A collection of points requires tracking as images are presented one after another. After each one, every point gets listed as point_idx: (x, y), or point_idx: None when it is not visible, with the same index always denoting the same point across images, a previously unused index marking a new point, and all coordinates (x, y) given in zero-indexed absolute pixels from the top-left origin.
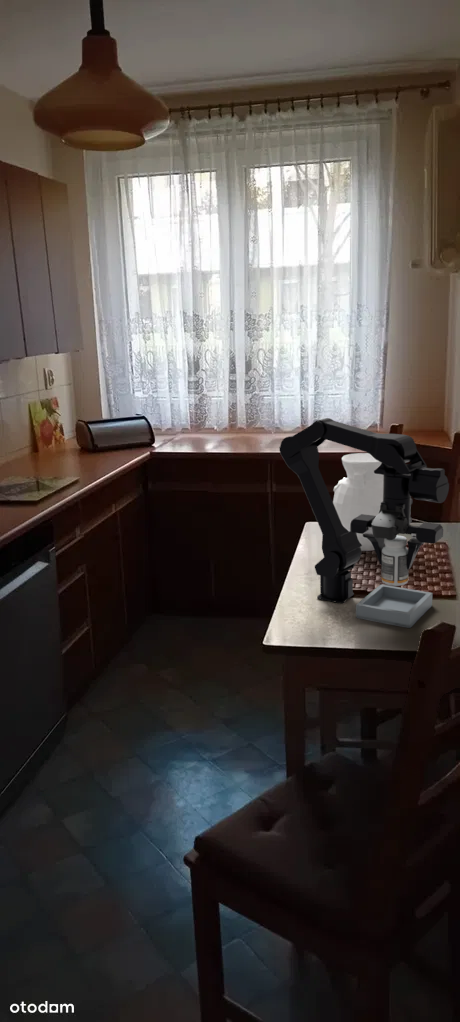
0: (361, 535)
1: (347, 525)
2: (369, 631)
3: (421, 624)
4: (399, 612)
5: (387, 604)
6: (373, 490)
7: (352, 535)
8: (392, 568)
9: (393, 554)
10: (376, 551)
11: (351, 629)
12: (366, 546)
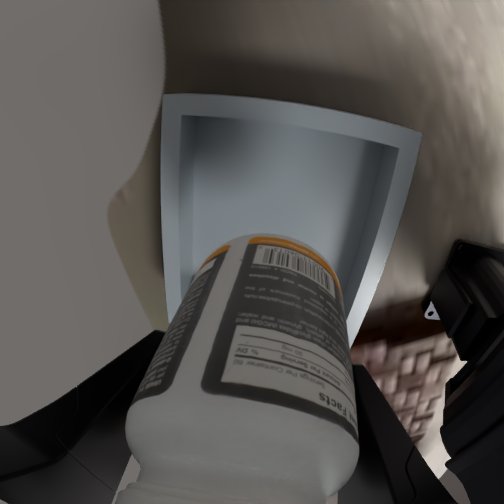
0: None
1: None
2: (319, 15)
3: (160, 143)
4: (211, 97)
5: None
6: None
7: (496, 490)
8: (246, 298)
9: (210, 413)
10: (403, 443)
11: (387, 19)
12: None
